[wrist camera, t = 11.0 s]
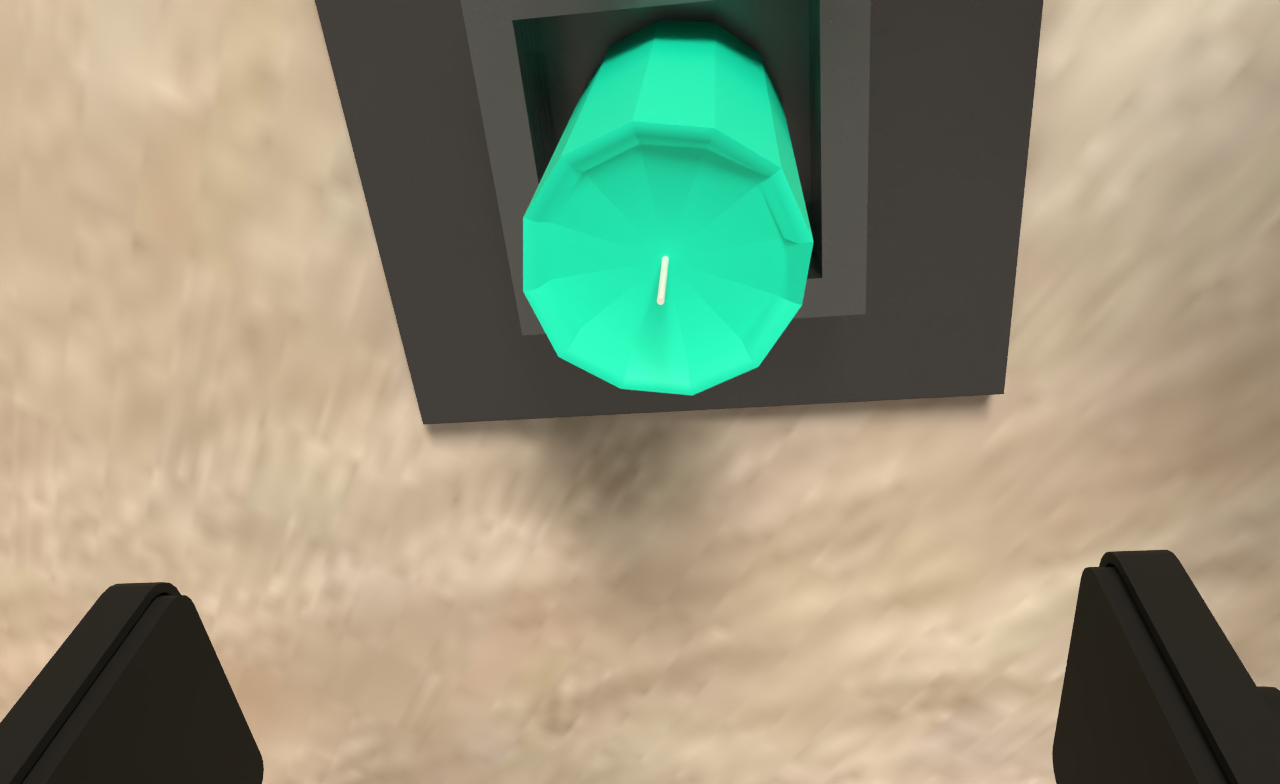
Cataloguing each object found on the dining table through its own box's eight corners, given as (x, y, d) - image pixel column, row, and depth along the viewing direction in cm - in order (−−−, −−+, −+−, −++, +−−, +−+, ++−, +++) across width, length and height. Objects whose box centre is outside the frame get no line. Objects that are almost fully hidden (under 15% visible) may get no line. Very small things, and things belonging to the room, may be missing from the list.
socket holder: (1065, -345, 23) (1134, -377, 19) (996, 378, 33) (1032, 453, 29) (268, -240, 25) (188, -249, 22) (430, 409, 35) (395, 482, 32)
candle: (671, 258, 31) (649, 483, 20) (537, 115, 29) (436, 285, 18) (825, 133, 28) (887, 316, 18) (691, -32, 26) (675, 69, 16)
